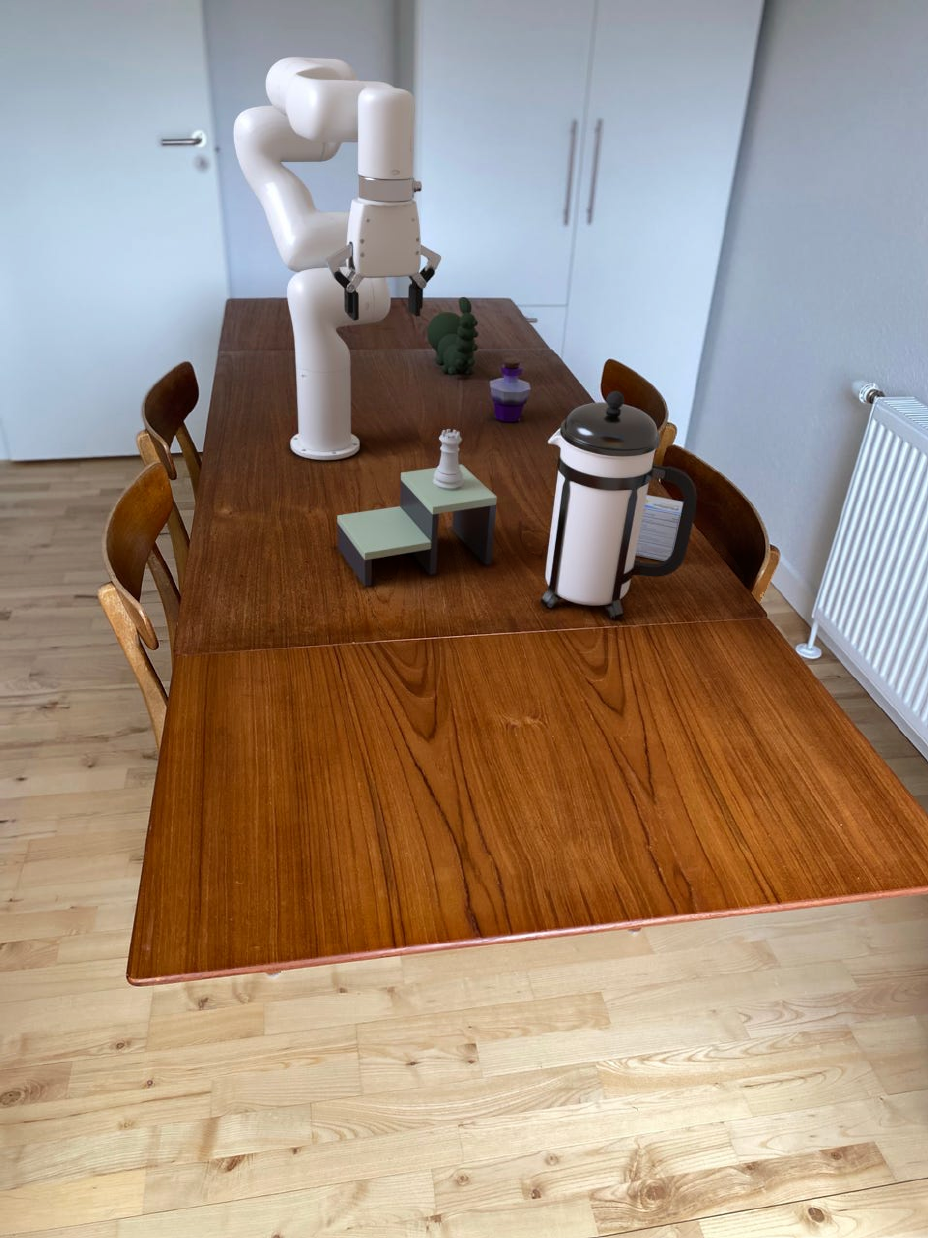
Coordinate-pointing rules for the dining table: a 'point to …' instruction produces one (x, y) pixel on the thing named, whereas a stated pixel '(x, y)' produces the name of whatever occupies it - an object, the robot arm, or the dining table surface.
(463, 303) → the toy figurine
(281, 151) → the robot arm
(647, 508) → the medicine box
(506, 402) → the potion bottle
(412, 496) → the rack
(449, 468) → the rook chess piece
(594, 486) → the coffee press
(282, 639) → the dining table surface
